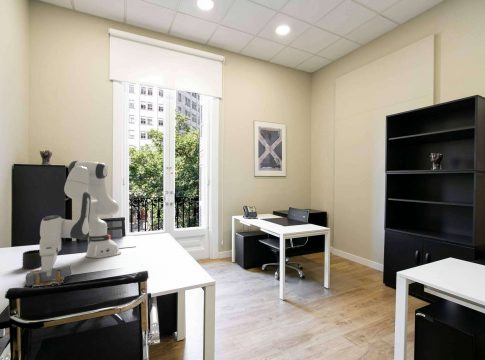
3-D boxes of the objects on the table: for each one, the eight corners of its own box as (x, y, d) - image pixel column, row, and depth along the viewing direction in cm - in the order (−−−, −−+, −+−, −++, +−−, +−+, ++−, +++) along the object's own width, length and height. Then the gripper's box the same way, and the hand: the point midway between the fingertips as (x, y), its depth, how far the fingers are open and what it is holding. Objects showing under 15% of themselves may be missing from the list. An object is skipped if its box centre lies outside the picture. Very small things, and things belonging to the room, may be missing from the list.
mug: (50, 263, 156) (51, 249, 156) (30, 270, 144) (30, 254, 144) (39, 262, 158) (39, 248, 158) (18, 268, 147) (18, 253, 147)
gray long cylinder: (71, 272, 135) (70, 263, 134) (71, 275, 131) (69, 266, 130) (28, 282, 125) (27, 273, 125) (26, 286, 121) (25, 276, 121)
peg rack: (64, 278, 134) (64, 267, 134) (62, 283, 128) (63, 271, 128) (35, 282, 128) (36, 270, 128) (32, 288, 121) (32, 275, 121)
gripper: (46, 243, 135) (45, 268, 135) (39, 253, 118) (38, 282, 118) (60, 242, 138) (59, 266, 138) (55, 251, 121) (54, 280, 121)
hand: (49, 274), depth 128 cm, fingers closed on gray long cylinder, 3 cm apart
